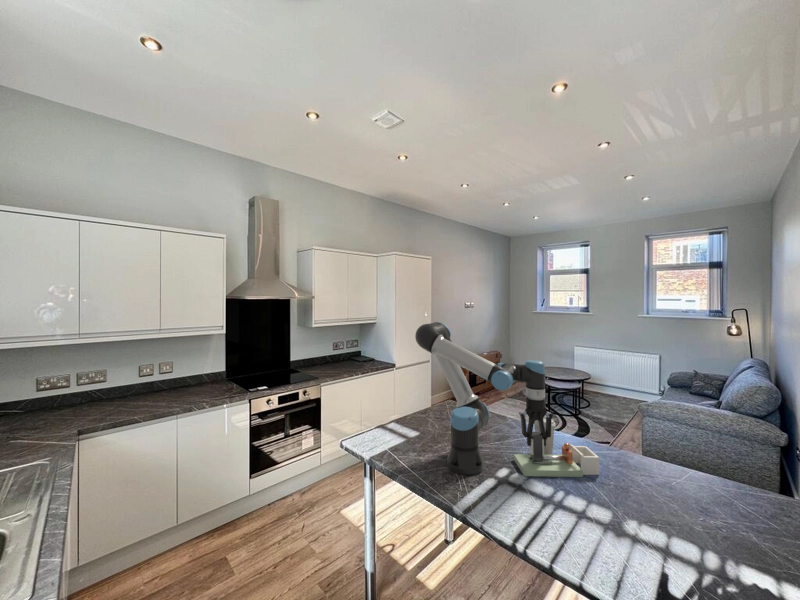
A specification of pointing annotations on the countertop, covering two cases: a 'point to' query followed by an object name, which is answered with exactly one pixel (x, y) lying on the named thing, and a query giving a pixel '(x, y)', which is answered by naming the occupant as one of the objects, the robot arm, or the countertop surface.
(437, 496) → the countertop surface
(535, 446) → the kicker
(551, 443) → the coffee cup
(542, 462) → the rail guide
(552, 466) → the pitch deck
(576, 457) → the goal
